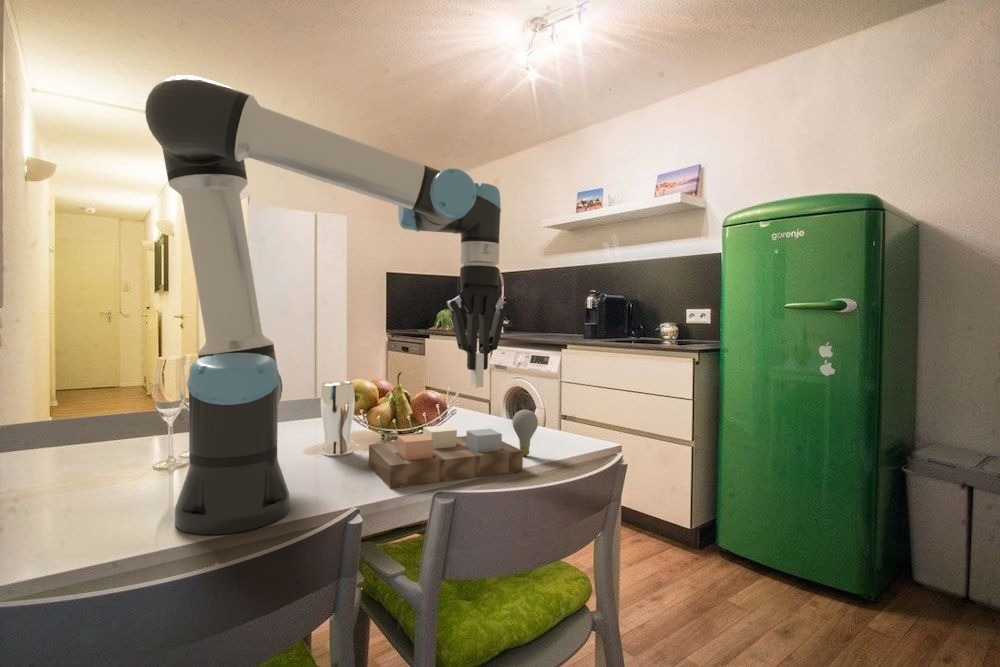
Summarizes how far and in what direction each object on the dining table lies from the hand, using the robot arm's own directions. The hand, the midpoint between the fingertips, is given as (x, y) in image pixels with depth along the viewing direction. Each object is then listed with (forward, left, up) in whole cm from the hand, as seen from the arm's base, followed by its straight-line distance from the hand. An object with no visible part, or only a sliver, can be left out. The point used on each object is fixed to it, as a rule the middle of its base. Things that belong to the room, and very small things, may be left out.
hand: (476, 386), depth 106 cm
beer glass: (-23, +22, -16) cm, 36 cm away
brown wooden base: (-6, +2, -16) cm, 17 cm away
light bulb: (+13, +4, -16) cm, 21 cm away
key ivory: (-6, +5, -14) cm, 16 cm away
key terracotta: (-13, -1, -14) cm, 19 cm away
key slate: (+1, -1, -14) cm, 14 cm away
